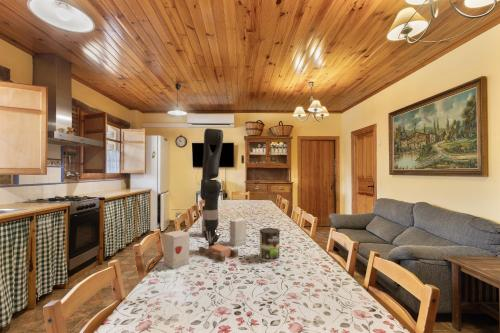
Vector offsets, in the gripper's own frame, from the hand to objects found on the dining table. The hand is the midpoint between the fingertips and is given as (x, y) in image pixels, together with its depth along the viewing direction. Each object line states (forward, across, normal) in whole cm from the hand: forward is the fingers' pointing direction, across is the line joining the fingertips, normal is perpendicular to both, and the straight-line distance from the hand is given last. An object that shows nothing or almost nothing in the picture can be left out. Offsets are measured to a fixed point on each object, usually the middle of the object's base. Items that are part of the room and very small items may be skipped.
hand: (211, 249), depth 140 cm
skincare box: (+2, 0, +20) cm, 20 cm away
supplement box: (+2, +2, -22) cm, 22 cm away
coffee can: (+2, +28, +16) cm, 32 cm away
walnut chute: (+2, +6, 0) cm, 6 cm away
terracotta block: (+1, +7, 0) cm, 7 cm away
